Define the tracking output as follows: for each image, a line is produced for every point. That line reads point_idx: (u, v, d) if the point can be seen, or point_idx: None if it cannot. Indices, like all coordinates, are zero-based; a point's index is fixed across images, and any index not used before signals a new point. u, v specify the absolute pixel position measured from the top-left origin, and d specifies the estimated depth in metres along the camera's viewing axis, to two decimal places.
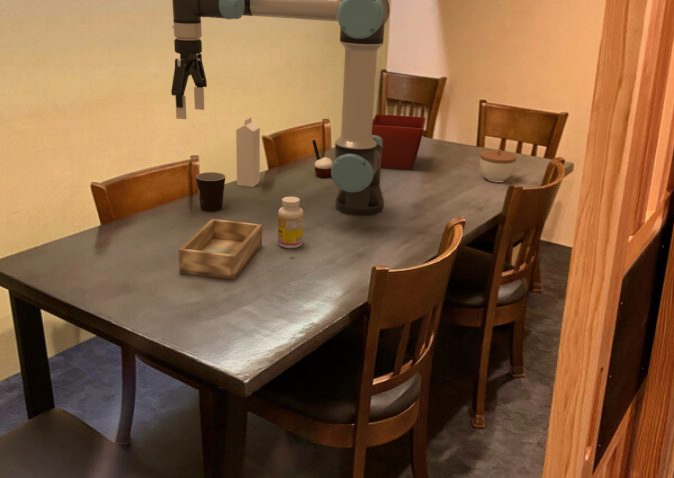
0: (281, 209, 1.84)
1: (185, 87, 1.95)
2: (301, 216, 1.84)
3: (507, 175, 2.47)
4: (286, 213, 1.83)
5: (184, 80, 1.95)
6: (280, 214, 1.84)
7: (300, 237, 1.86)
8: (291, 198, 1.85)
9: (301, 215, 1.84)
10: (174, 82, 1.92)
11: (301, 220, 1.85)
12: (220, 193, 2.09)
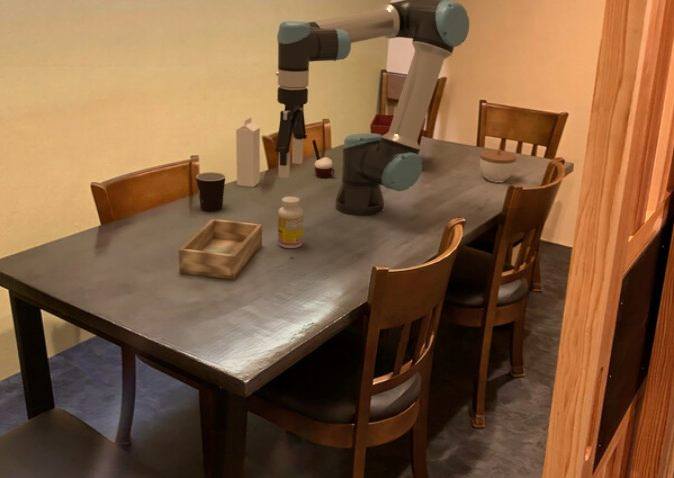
0: (281, 209, 1.84)
1: (290, 142, 1.72)
2: (301, 216, 1.84)
3: (507, 175, 2.47)
4: (286, 213, 1.83)
5: (289, 135, 1.72)
6: (280, 214, 1.84)
7: (300, 237, 1.86)
8: (291, 198, 1.85)
9: (301, 215, 1.84)
10: (279, 138, 1.69)
11: (301, 220, 1.85)
12: (220, 193, 2.09)
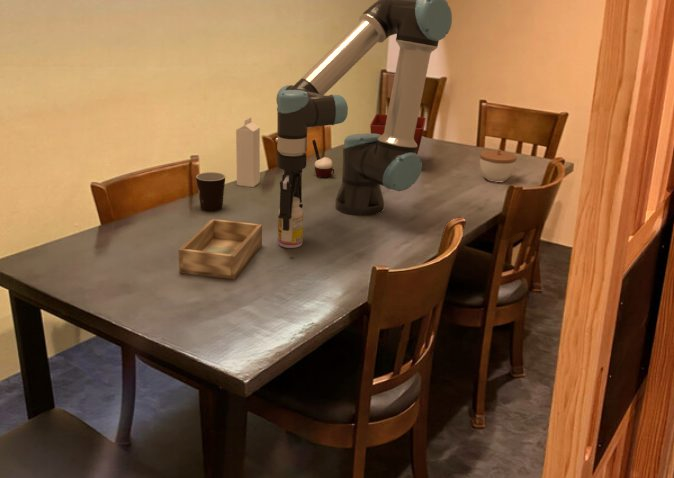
0: None
1: None
2: (301, 216, 1.84)
3: (507, 175, 2.47)
4: None
5: (290, 201, 1.80)
6: None
7: (300, 237, 1.86)
8: None
9: (301, 215, 1.84)
10: (281, 206, 1.78)
11: (301, 220, 1.85)
12: (220, 193, 2.09)
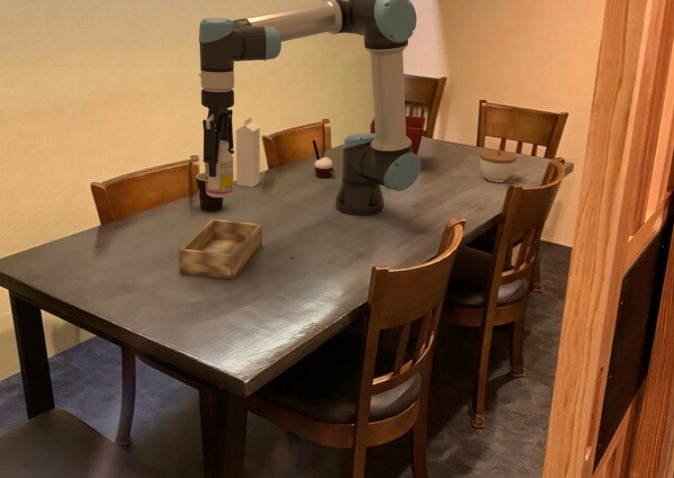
0: None
1: (218, 151, 1.63)
2: (230, 161, 1.66)
3: (507, 175, 2.47)
4: None
5: (216, 143, 1.62)
6: None
7: (230, 185, 1.68)
8: None
9: (230, 160, 1.66)
10: (205, 149, 1.60)
11: (230, 166, 1.67)
12: None
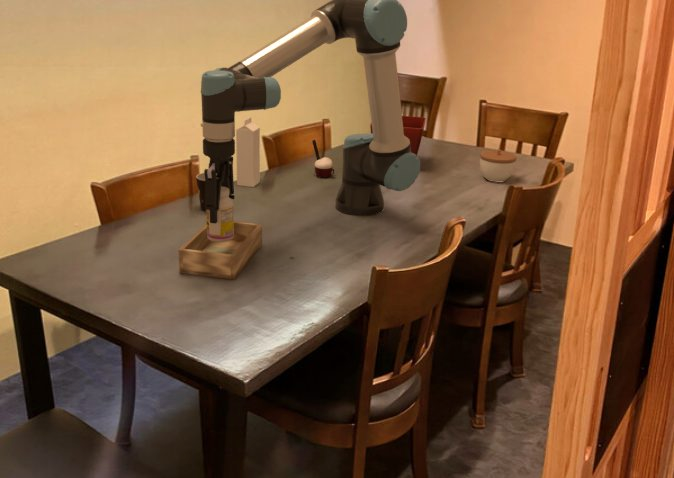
0: None
1: (219, 198, 1.68)
2: (230, 207, 1.71)
3: (507, 175, 2.47)
4: None
5: (217, 191, 1.67)
6: None
7: (230, 230, 1.73)
8: None
9: (230, 206, 1.71)
10: (207, 197, 1.64)
11: (231, 212, 1.71)
12: None
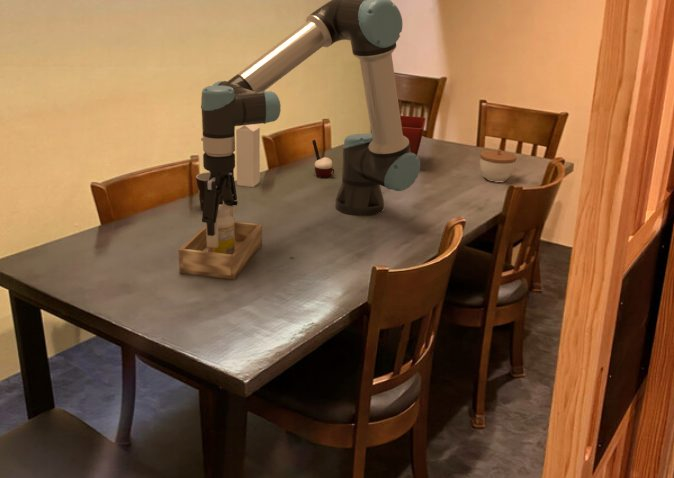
0: None
1: (217, 211, 1.67)
2: (231, 225, 1.73)
3: (507, 175, 2.47)
4: None
5: (216, 204, 1.66)
6: None
7: (231, 248, 1.75)
8: (221, 206, 1.73)
9: (231, 224, 1.73)
10: (205, 209, 1.64)
11: (232, 230, 1.73)
12: None
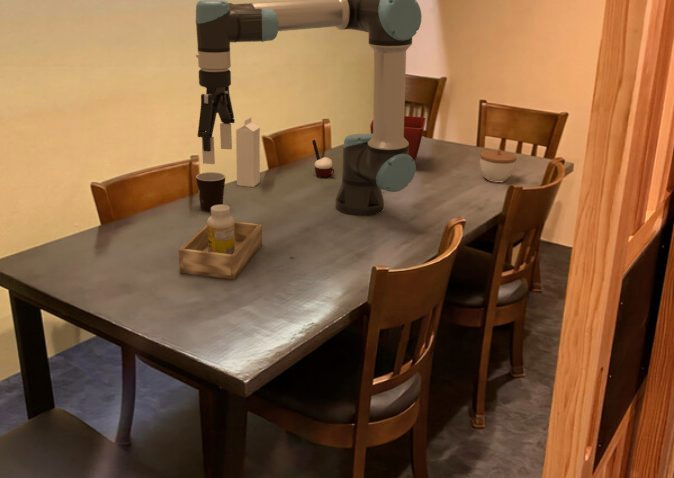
0: (210, 218, 1.73)
1: (213, 127, 1.65)
2: (231, 225, 1.73)
3: (507, 175, 2.47)
4: (215, 222, 1.71)
5: (212, 119, 1.65)
6: (209, 223, 1.72)
7: (231, 248, 1.75)
8: (221, 206, 1.73)
9: (231, 224, 1.73)
10: (201, 122, 1.62)
11: (231, 230, 1.73)
12: (220, 193, 2.09)
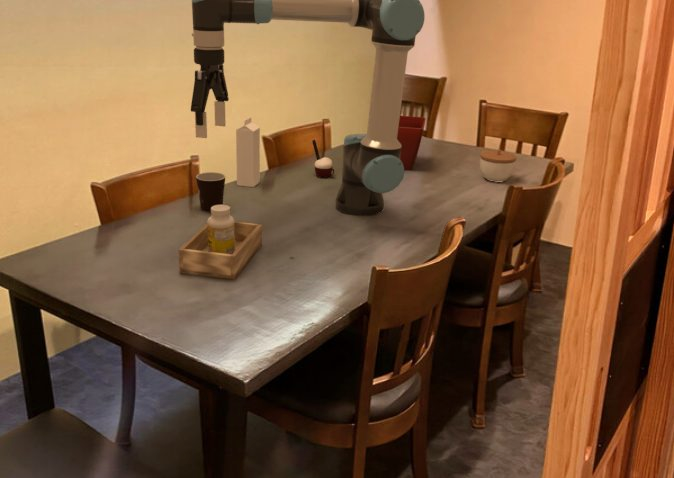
0: (210, 218, 1.73)
1: (206, 102, 1.74)
2: (231, 225, 1.73)
3: (507, 175, 2.47)
4: (215, 222, 1.71)
5: (205, 94, 1.73)
6: (209, 223, 1.72)
7: (231, 248, 1.75)
8: (221, 206, 1.73)
9: (231, 224, 1.73)
10: (194, 97, 1.71)
11: (232, 230, 1.73)
12: (220, 193, 2.09)
